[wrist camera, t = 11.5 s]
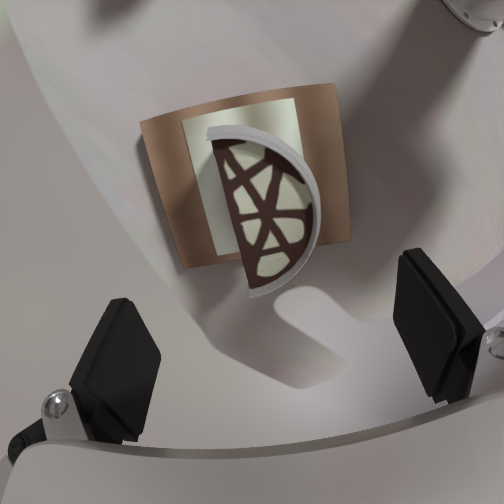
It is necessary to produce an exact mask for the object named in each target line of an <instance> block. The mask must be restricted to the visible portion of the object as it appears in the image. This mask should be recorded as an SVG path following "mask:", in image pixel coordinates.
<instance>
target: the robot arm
mask: <svg viewBox="0 0 504 504" xmlns="http://www.w3.org/2000/svg"><path fill="white" fill-rule="evenodd" d="M442 1H443V2H444V3H445V5H446V6H447V7H448V8H449V9H450V11H451V12H452V13H453V14H454V15H455V16H456V17H457V18H458V19H460V20H461V21H462V22H464V23H465V24H466V25H468V26H470V27H471V28H473V29H476V30H478V31H482V32H492V31H495V30H497V29H499V28H500V27H501V25H502V24H503V21H504V0H442ZM393 320H394V324H395V326H396V328H397V330H398V332H399V334H400V336H401V338H402V341H403V343H404V345H405V347H406V349H407V351H408V353H409V355H410V358H411V360H412V362H413V364H414V366H415V369H416V371H417V373H418V375H419V378H420V380H421V382H422V385H423V387H424V389H425V392H426V394H427V395H428V397H431V396H432V397H433V400H434V402H435V404H436V403H439V402H441V401H444V400H446V399H447V402H448V405H446V406H443V407H440V408H437V409H435V410H432V411H429V412H426V413H423V414H419V415H416V416H413V417H410V418H406V419H403V420H400V421H396V422H393V423H389V424H386V425H382V426H379V427H374V428H371V429H367V430H362V431H358V432H354V433H349V434H345V435H340V436H335V437H329V438H323V439H318V440H312V441H305V442H298V443H291V444H283V445H274V446H264V447H250V448H235V449H170V448H153V447H152V448H151V447H141V446H130V445H122V442H123V440H124V441H131V442H137V441H138V437H139V435H140V434H142V432H143V429H144V425H145V421H146V416H147V412H148V408H149V404H150V400H151V396H152V392H153V388H154V384H155V380H156V377H157V373H158V369H159V366H160V361H161V354H160V351H159V349H158V347H157V346H156V344H155V342H154V340H153V338H152V337H151V335H150V333H149V331H148V329H147V328H146V326H145V324H144V322H143V320H142V318H141V316H140V315H139V313H138V311H137V309H136V307H135V305H134V303H133V302H132V301H129V300H128V299H127V298H119V299H113V300H111V301H110V303H109V305H108V306H107V308H106V310H105V312H104V314H103V316H102V317H101V320H100V321H99V323H98V325H97V327H96V329H95V331H94V333H93V335H92V337H91V338H90V341H89V342H88V345H87V346H86V348H85V350H84V352H83V354H82V357H81V359H80V361H79V363H78V365H77V367H76V369H75V371H74V373H73V375H72V378H71V380H70V382H69V385H70V386H71V388H72V390H71V392H69V391H68V390H65V389H58V390H56V391H54V392H52V393H51V394H49V395H48V397H46V399H45V400H44V402H43V404H42V408H41V416H42V418H41V419H39V420H38V421H36V422H35V423H33V424H32V425H31V426H29V427H27V428H26V429H24V430H23V431H21V432H20V433H18V434H17V435H16V436H14V437H13V438H12V440H11V441H10V443H9V447H8V456H6V455H5V456H4V457H3V458H2V459H1V461H0V504H504V327H493V328H490V329H489V330H487V331H486V330H485V329H484V327H483V326H482V324H481V323H480V322H479V320H478V319H477V318H476V316H475V315H474V313H473V312H472V311H471V309H470V308H469V307H468V305H467V304H466V303H465V301H464V300H463V299H462V297H461V296H460V295H459V294H458V292H457V291H456V290H455V289H454V287H453V286H452V285H451V284H450V282H449V281H448V280H447V279H446V277H445V276H444V275H443V274H442V273H441V271H440V270H439V269H438V268H437V267H436V265H435V264H434V263H433V262H432V261H431V260H430V258H429V257H428V256H427V255H426V254H425V253H424V252H423V250H422V249H421V248H414V249H409V250H405V251H404V252H403V255H401V256H399V260H398V273H397V284H396V294H395V303H394V312H393Z"/></svg>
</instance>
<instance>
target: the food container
mask: <svg viewBox="0 0 504 504" xmlns="http://www.w3.org/2000/svg"><path fill="white" fill-rule="evenodd" d="M206 135H207V139H206V141H210V140H211V144H212V148H213V153H214V156H215V158H216V162H217V166H218V170H219V174H220V178H221V182H222V185H223V189H224V193H225V197H226V201H227V205H228V209H229V213H230V217H231V221H232V225H233V229H234V232H235V236H236V239H237V242H238V246H239V250H240V254H241V257H242V261H243V265H244V268H245V272H246V276H247V279H248V290H249V299H251V298H255V297H259V296H262V295H265V294H267V293H270V292H272V291H274V290H276V289H277V288H279V287H281V286H283V285H284V284H285V283H287V282H288V281H289V280H291V279H292V278H293V277H294V276H295V275H296V274H297V273H298V272H299V271H300V270H301V268H302V267H303V266H304V264H305V263H306V261H307V260H308V258H309V256H310V255H311V253H312V251H313V249H314V247H315V245H316V241H317V238H318V235H319V230H320V223H321V206H320V195H319V191H318V187H317V183H316V181H315V179H314V176H313V174H312V172H311V170H310V169H309V167H308V165H307V164H306V162H305V161H304V159H303V158H302V157H301V156H300V155H299V154H298V153H297V152H296V151H295V150H294V149H293V148H292V147H291V146H289V145H288V144H287V143H286V142H284V141H283V140H281V139H280V138H278V137H276V136H274V135H272V134H270V133H268V132H265V131H262V130H259V129H256V128H253V127H247V126H241V125H220V126H214V127H208V129H207V133H206Z"/></svg>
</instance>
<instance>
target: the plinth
mask: <svg viewBox="0 0 504 504" xmlns="http://www.w3.org/2000/svg"><path fill="white" fill-rule="evenodd" d="M139 123H140V127H141V131H142V135H143V138H144V142H145V146H146V150H147V153H148V157H149V160H150V164H151V167H152V171H153V174H154V178H155V181H156V184H157V188H158V191H159V194H160V198H161V201H162V204H163V207H164V210H165V213H166V217H167V220H168V223H169V226H170V229H171V232H172V235H173V238H174V241H175V244H176V247H177V250H178V253H179V256H180V259H181V261H182V264H183V267H184V269H187V268H193V267H199V266H204V265H210V264H216V263H222V262H228V261H234V260H239V259H242V257H241V254H240V250H239V246H238V242H237V239H236V236H235V232H234V229H233V225H232V221H231V217H230V213H229V209H228V205H227V201H226V197H225V193H224V189H223V185H222V182H221V178H220V174H219V170H218V166H217V162H216V158H215V156H214V153H213V148H212V144H211V140H210V141H206V139H207V135H206V133H207V129H208V127H214V126H220V125H241V126H247V127H253V128H256V129H259V130H262V131H265V132H268V133H270V134H272V135H274V136H276V137H278V138H280V139H281V140H283V141H284V142H286V143H287V144H288V145H289V146H291V147H292V148H293V149H294V150H295V151H296V152H297V153H298V154H299V155H300V156H301V157H302V158H303V159H304V161H305V162H306V164H307V165H308V167H309V169H310V170H311V172H312V174H313V176H314V179H315V181H316V183H317V187H318V191H319V195H320V206H321V223H320V230H319V235H318V238H317V241H316V245H315V246H320V245H326V244H331V243H337V242H343V241H348V240H351V225H350V207H349V193H348V181H347V170H346V160H345V151H344V142H343V134H342V126H341V119H340V112H339V105H338V98H337V92H336V86H335V83H327V84H316V85H307V86H298V87H290V88H283V89H276V90H269V91H263V92H257V93H252V94H246V95H241V96H236V97H231V98H226V99H222V100H217V101H213V102H209V103H204V104H200V105H196V106H192V107H188V108H185V109H181V110H177V111H174V112H170V113H167V114H163V115H160V116H157V117H153V118H150V119H147V120H144V121H141V122H139Z"/></svg>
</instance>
